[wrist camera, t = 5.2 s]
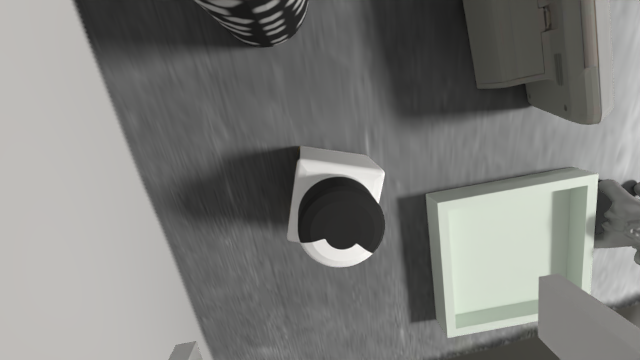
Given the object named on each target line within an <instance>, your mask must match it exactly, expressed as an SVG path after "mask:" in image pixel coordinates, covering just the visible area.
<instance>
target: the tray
mask: <svg viewBox="0 0 640 360" xmlns="http://www.w3.org/2000/svg"><path fill="white" fill-rule="evenodd" d="M597 188H598V173H594V172H590V171H586V170H582V169H579V168H575V167H570V168H564V169H559V170H553V171H548V172H542V173H537V174H531V175H526V176H520V177H515V178H509V179H504V180H499V181H493V182H488V183H482V184H477V185H471V186H466V187H460V188H455V189H449V190H444V191H438V192H433V193H427V194H426V205H427V217H428V228H429V240H430V252H431V263H432V275H433V287H434V298H435V310H436V320H437V321H438V323H439V325H440V326H441V328H442V330H443V331H444V333H445V334H446V336H447V338H450V337H455V336H461V335H466V334H471V333H477V332H482V331H487V330H493V329H498V328H503V327H509V326H514V325H519V324H525V323H530V322H535V321H538V291H539V277H541V276H546V275H551V274H557V273H559V274H560V275H562V276H563V277H565V278H566V279H568V280H569V281H571V282H572V283H574V284H575V285H576V286H578V287H579V288H581V289H582V290H584V291H585V292H587V293H588V294H590V290H591V275H592V261H593V246H594V232H595V217H596V203H597Z"/></svg>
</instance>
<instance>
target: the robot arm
mask: <svg viewBox="0 0 640 360" xmlns="http://www.w3.org/2000/svg"><path fill="white" fill-rule="evenodd" d="M538 337H539V338H540V339H541V340H542V341H543V342H544V343H545V344H546V345H547V346H548V347H549V348H550V349H551V350H552V351H553V352H554V353H555V354H556V355H557V356H558V357H559V358H560V359H561V360H640V328H638V327H637V326H635V325H634V324H632V323H631V322H629V321H628V320H626V319H625V318H624V317H622V316H621V315H619V314H618V313H616V312H615V311H613V310H612V309H610V308H609V307H607V306H606V305H604V304H603V303H601V302H600V301H599V300H597V299H596V298H594V297H593V296H591V295H590V294H588V293H587V292H585V291H584V290H582V289H581V288H579V287H578V286H576V285H575V284H574V283H572V282H571V281H569V280H568V279H566V278H565V277H563V276H562V275H560V274H559V273H557V274H551V275H546V276H541V277H539V291H538ZM169 360H202V357H201V354H200V351H199V348H198V345H197V342H196V341H195V342H189V343H184V344H179V345H176V346H175V348H174V350H173V352H172V354H171V356H170V358H169Z"/></svg>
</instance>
